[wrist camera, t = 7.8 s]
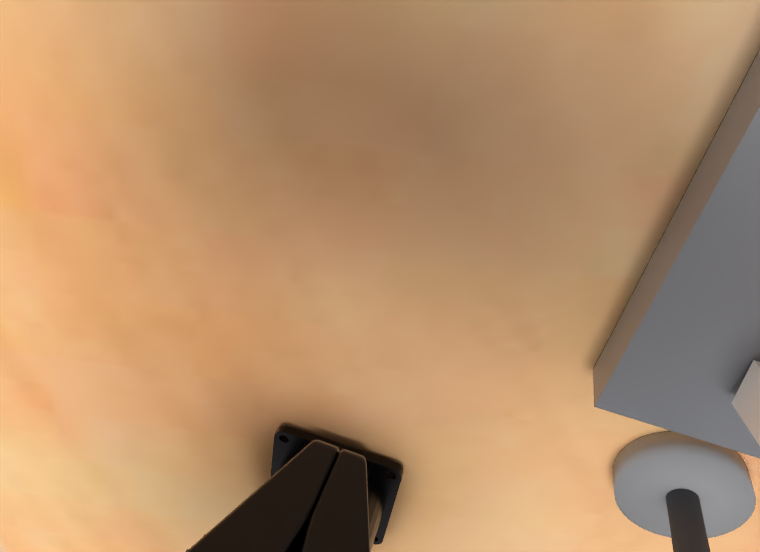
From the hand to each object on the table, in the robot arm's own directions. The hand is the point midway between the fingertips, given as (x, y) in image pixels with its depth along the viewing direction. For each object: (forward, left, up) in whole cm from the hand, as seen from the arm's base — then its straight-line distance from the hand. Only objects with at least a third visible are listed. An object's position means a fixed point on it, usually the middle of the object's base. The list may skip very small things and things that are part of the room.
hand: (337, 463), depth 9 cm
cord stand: (-11, -12, -13) cm, 21 cm away
